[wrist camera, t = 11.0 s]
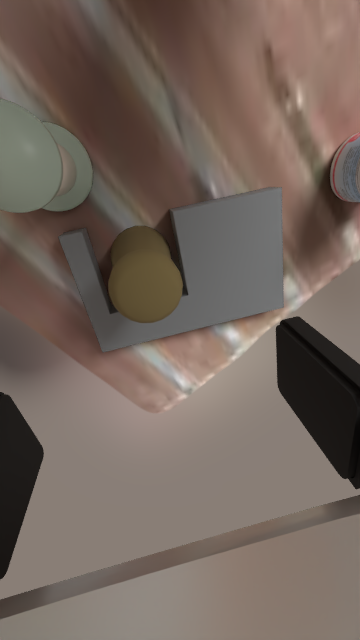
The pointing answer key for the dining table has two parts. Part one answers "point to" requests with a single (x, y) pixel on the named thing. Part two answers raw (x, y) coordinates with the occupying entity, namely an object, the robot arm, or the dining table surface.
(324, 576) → the robot arm
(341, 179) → the pill bottle
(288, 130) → the dining table surface
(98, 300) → the gray block
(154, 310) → the cork
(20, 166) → the bobbin post
